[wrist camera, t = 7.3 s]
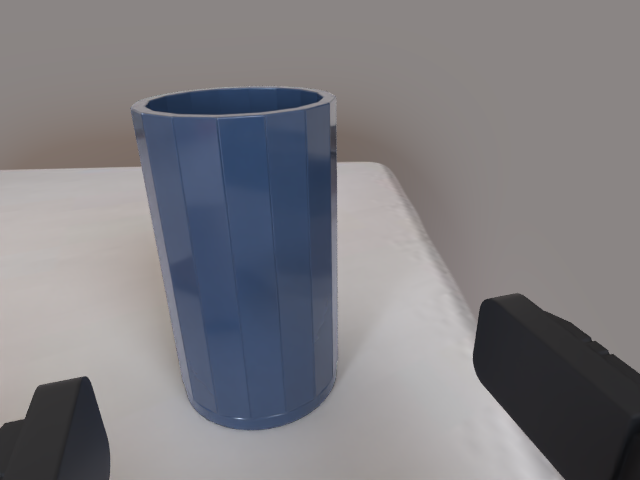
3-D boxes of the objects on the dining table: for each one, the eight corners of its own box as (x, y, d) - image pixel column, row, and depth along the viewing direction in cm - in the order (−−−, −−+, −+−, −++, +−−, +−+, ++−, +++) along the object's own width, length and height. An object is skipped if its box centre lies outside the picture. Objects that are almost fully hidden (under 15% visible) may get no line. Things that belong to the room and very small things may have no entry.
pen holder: (152, 388, 19) (88, 106, 14) (254, 313, 23) (232, 83, 18) (274, 459, 15) (243, 125, 11) (363, 356, 20) (370, 91, 15)
